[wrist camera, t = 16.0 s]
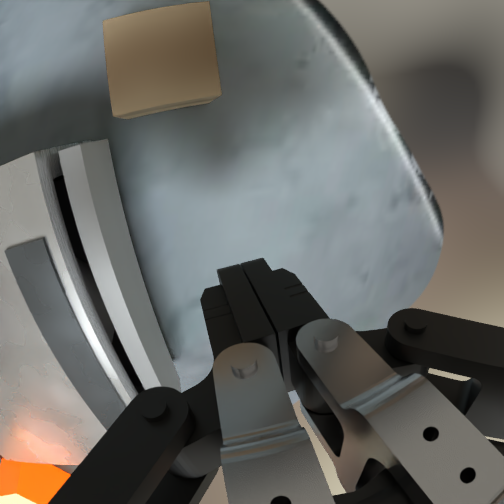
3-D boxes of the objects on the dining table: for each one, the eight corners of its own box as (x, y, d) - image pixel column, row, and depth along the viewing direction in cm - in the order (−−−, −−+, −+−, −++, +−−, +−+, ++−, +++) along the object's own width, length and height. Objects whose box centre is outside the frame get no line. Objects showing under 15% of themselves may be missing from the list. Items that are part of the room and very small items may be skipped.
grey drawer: (-60, 206, 10) (-106, 234, 6) (107, 138, 12) (79, 144, 8) (34, 397, 16) (22, 444, 12) (179, 378, 18) (186, 434, 14)
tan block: (118, 45, 11) (102, 20, 8) (199, 30, 12) (209, 1, 8) (128, 119, 13) (113, 116, 9) (209, 103, 14) (221, 94, 10)
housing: (-63, 205, 11) (-133, 249, 4) (91, 139, 13) (31, 152, 6) (26, 388, 17) (5, 461, 11) (163, 370, 19) (171, 460, 13)
